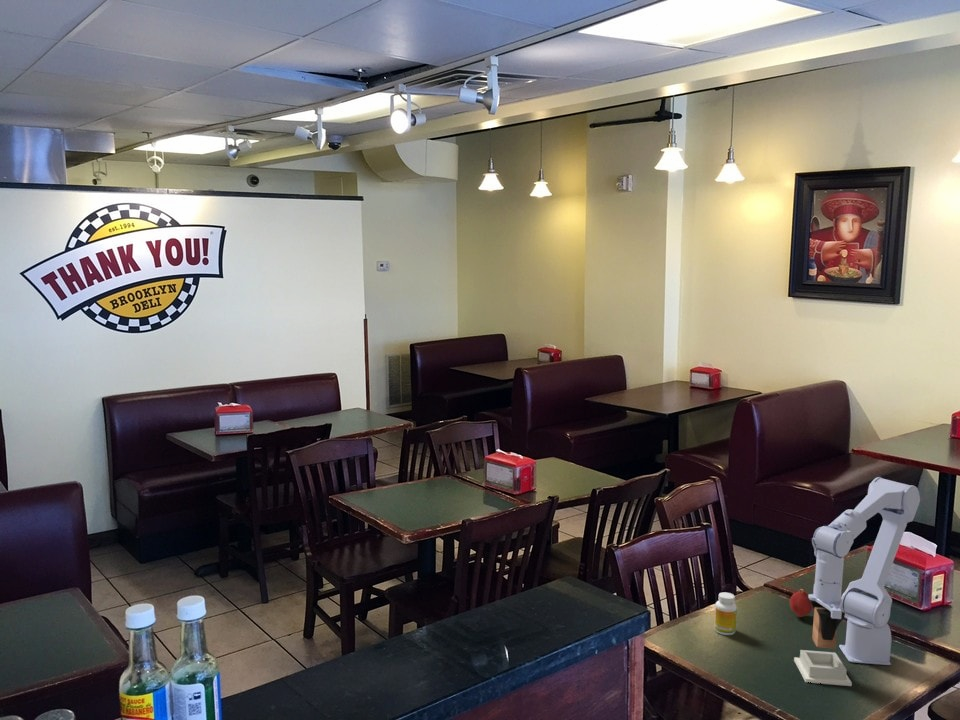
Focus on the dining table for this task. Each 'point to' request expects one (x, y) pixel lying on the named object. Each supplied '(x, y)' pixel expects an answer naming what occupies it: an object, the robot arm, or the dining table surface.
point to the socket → (822, 668)
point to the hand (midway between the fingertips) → (824, 634)
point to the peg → (817, 632)
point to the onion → (800, 603)
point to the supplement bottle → (725, 614)
